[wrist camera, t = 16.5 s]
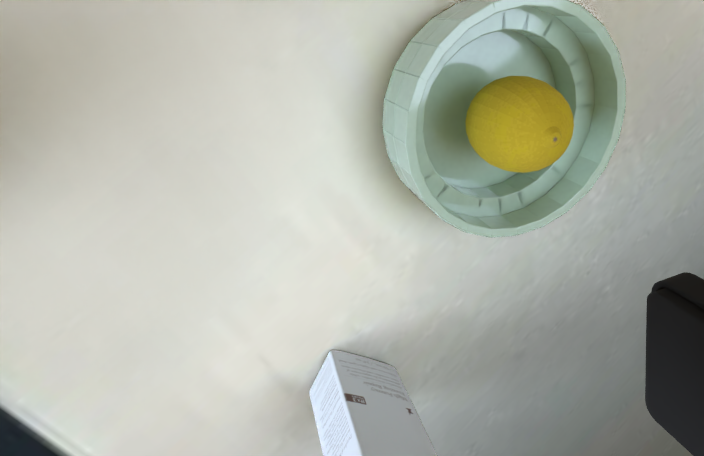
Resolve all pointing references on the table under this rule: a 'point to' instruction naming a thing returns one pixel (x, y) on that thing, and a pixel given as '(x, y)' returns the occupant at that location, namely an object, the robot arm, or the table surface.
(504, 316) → the table surface
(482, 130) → the lemon
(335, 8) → the table surface
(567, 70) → the bowl
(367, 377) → the cosmetic box
